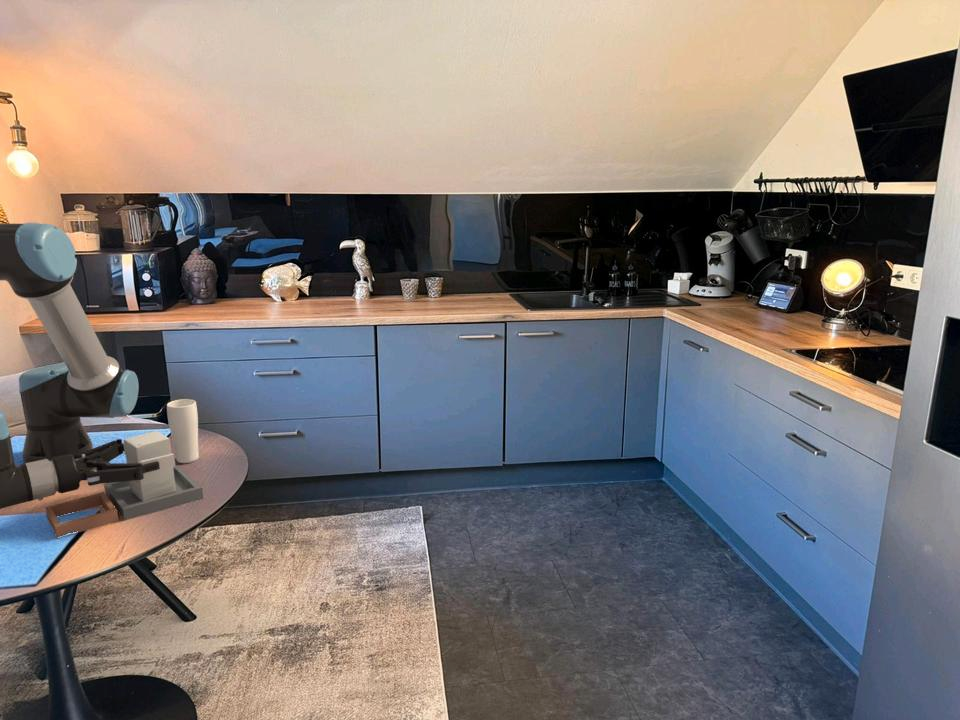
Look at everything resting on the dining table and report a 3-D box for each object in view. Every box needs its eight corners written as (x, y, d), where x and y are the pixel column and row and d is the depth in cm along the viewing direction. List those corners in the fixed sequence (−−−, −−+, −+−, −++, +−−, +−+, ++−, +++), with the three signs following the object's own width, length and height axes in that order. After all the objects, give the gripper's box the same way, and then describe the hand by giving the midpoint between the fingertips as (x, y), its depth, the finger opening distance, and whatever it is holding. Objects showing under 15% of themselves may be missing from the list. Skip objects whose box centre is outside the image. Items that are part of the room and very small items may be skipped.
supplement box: (177, 491, 151) (170, 438, 148) (142, 502, 146) (134, 447, 143) (164, 481, 156) (157, 429, 153) (129, 491, 151) (122, 438, 148)
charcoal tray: (105, 494, 152) (103, 483, 152) (179, 474, 162) (178, 465, 162) (124, 520, 141) (122, 509, 140) (203, 497, 151) (202, 487, 150)
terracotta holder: (46, 518, 141) (44, 507, 141) (105, 502, 148) (103, 491, 148) (57, 538, 133) (55, 527, 133) (118, 521, 140) (117, 510, 140)
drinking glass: (191, 466, 167) (185, 408, 163) (167, 464, 168) (160, 406, 165) (207, 455, 174) (201, 399, 170) (183, 453, 175) (177, 398, 171)
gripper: (45, 473, 148) (149, 449, 161) (69, 515, 129) (184, 484, 143) (39, 441, 146) (145, 419, 159) (63, 479, 127) (181, 451, 141)
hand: (164, 450), depth 151 cm, fingers open, 13 cm apart
